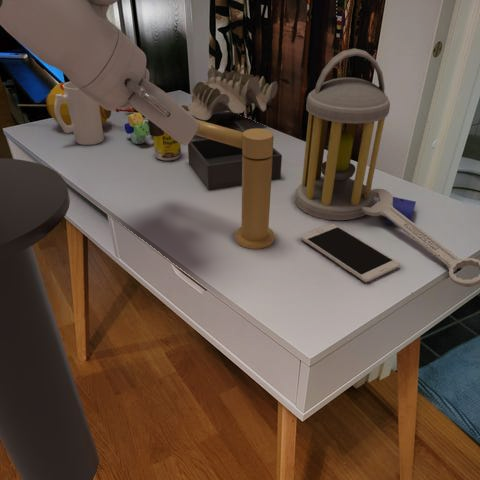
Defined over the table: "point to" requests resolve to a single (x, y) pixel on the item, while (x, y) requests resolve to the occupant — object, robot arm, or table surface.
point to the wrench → (420, 236)
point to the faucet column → (255, 204)
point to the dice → (137, 128)
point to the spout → (233, 138)
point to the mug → (80, 115)
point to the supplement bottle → (166, 147)
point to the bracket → (402, 208)
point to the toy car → (235, 123)
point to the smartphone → (350, 252)
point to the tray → (222, 163)
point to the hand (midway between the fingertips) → (187, 134)
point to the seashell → (229, 94)
